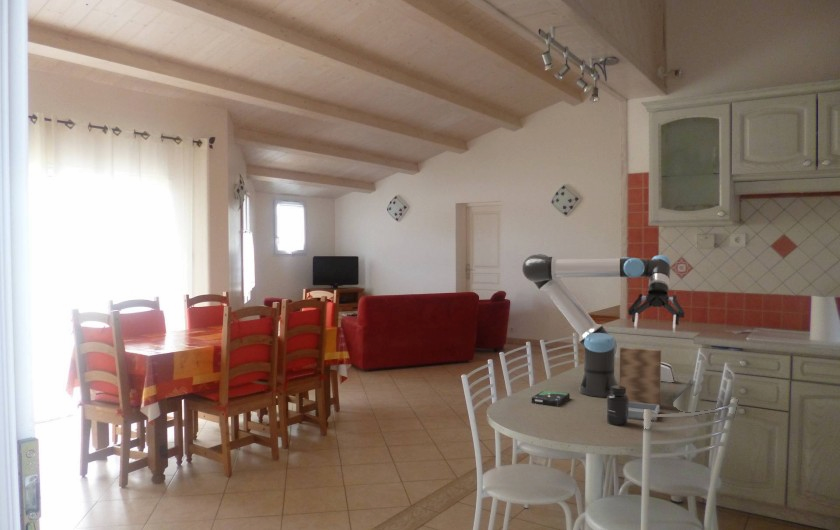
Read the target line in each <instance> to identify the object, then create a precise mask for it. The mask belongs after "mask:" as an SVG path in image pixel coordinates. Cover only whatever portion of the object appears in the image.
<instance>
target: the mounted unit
mask: <svg viewBox="0 0 840 530" xmlns="http://www.w3.org/2000/svg"><path fill="white" fill-rule="evenodd" d="M661 362H662V350H661V349H651V348H636V347H624V346H623V347H619V386H623V387H625V388H626V394H625V395H626V396H627V397H628V398H629V402H637V403H646V404H655V405H659V410H660V409H661V383H662V382H661Z"/></svg>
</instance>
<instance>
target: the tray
mask: <svg viewBox="0 0 840 530" xmlns="http://www.w3.org/2000/svg"><path fill="white" fill-rule="evenodd" d="M644 409H650V410H651V411H652V412H654V413H659V414H660V409H659V405H655V404H646V403H637V402H629V409H628V419H633V420H641V421H644V420H643V413H644V412H643V410H644ZM657 420H658V417H657V418H652V421H651V422H657Z"/></svg>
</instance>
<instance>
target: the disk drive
mask: <svg viewBox="0 0 840 530" xmlns="http://www.w3.org/2000/svg"><path fill="white" fill-rule="evenodd" d="M570 396H571V395H570V392H562V391H552V390H546V389H545V390H542V391H541V392H539V393H537V394H535V395H533V396H532V397H531V403H532V404H535V403H536V405H542V404H543V406H548V407H549V406H550V407H556V408H557V407H560V406H561V405H563V404H564V403H565V402H567V401H569V400H570ZM568 399H569V400H568ZM566 400H567V401H566ZM562 403H563V404H562Z"/></svg>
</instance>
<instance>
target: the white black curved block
mask: <svg viewBox="0 0 840 530" xmlns="http://www.w3.org/2000/svg"><path fill="white" fill-rule="evenodd" d="M661 381H668V382H674V383H675V382H676V377H675V373H674V369H673V366H672V365H671V364H669V363H667V362H662V361H661ZM668 382H667V383H668Z"/></svg>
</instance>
